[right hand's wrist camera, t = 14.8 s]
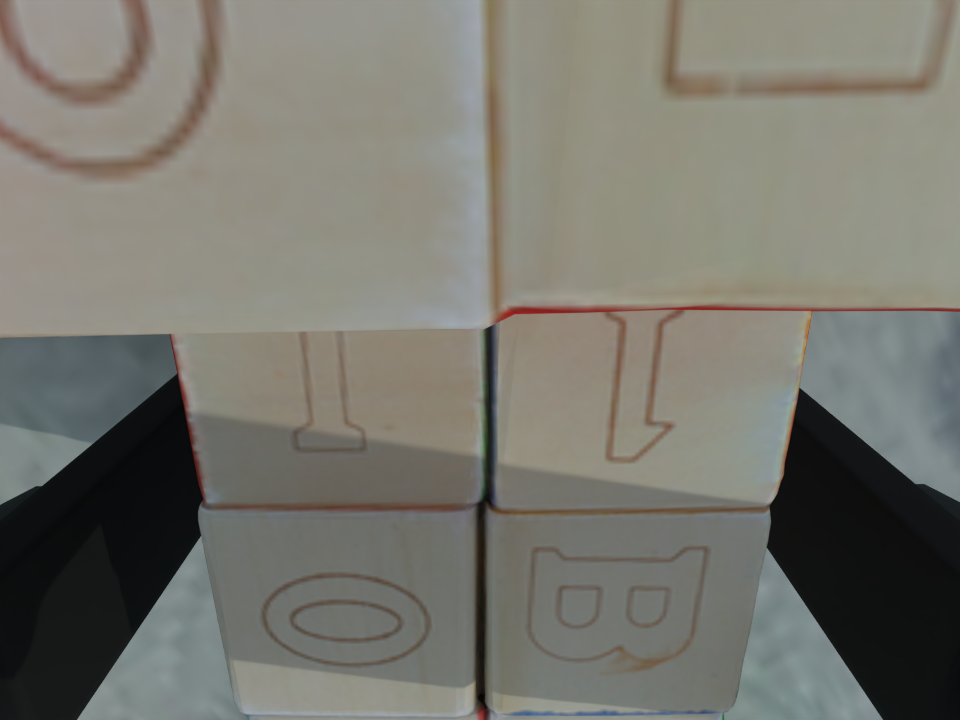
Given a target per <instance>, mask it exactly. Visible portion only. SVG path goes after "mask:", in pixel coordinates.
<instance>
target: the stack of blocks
mask: <svg viewBox="0 0 960 720" xmlns="http://www.w3.org/2000/svg"><path fill="white" fill-rule="evenodd" d="M812 311H956V312H960V0H0V338H12V337H57V336H102V335H147V334H170V338H171V343H172V348H173V353H174V359H175V364H176V369H177V374H178V379H179V384H180V389H181V394H182V399H183V404H184V409H185V414H186V420H187V425H188V430H189V435H190V441H191V446H192V451H193V457H194V462H195V467H196V472H197V477H198V482H199V486H200V490H201V493H202V496H203V501H202V503H201V504H200V506H199V510H198V522H199V527H200V532H201V537H202V542H203V547H204V552H205V557H206V562H207V567H208V573H209V578H210V583H211V588H212V593H213V598H214V603H215V608H216V613H217V618H218V623H219V628H220V633H221V638H222V643H223V648H224V653H225V658H226V663H227V668H228V673H229V677H230V682H231V687H232V692H233V697H234V702H235V705H236V707H237V708H238V710H239V711H240V712H242V713H243V714H244V715H246V716H247V717H248V720H724V712H727V711H729V710H730V709H731V708H732V707H733V705H734V703H735V701H736V698H737V694H738V689H739V683H740V677H741V671H742V665H743V661H744V656H745V652H746V647H747V643H748V638H749V634H750V629H751V624H752V618H753V613H754V607H755V602H756V596H757V591H758V585H759V580H760V574H761V569H762V565H763V561H764V556H765V552H766V548H767V543H768V537H769V531H770V525H771V517H770V507H769V506H770V504H771V503H772V501H773V499H774V498H775V496H776V495H777V492H778V489H779V486H780V482H781V480H782V478H783V475H784V465H785V459H786V454H787V450H788V445H789V440H790V435H791V430H792V425H793V420H794V414H795V409H796V404H797V399H798V393H799V386H800V380H801V374H802V367H803V361H804V355H805V350H806V344H807V339H808V333H809V327H810V322H811V316H812Z"/></svg>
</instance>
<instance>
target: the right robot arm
mask: <svg viewBox="0 0 960 720" xmlns="http://www.w3.org/2000/svg"><path fill="white" fill-rule="evenodd" d="M202 501H203V496H202V493H201V490H200V486H199V482H198V477H197V472H196V467H195V462H194V457H193V451H192V446H191V441H190V435H189V430H188V425H187V420H186V414H185V409H184V404H183V399H182V394H181V389H180V384H179V379H178V374H176V375H175V376H174V377H173V378H172V379H170V380H169V381H168V382H167V383H166V384H164V385H163V386H162V387H161V388H160V389H158V390H157V391H156V392H155V393H154V394H152V395H151V396H150V397H149V398H148V399H146V400H145V401H144V402H143V403H142V404H140V405H139V406H138V407H137V408H136V409H134V410H133V411H132V412H131V413H130V414H128V415H127V416H126V417H125V418H124V419H122V420H121V421H120V422H119V423H118V424H116V425H115V426H114V427H113V428H111V429H110V430H109V431H108V432H107V433H105V434H104V435H103V436H102V437H101V438H99V439H98V440H97V441H96V442H95V443H93V444H92V445H91V446H90V447H89V448H87V449H86V450H85V451H84V452H83V453H81V454H80V455H79V456H78V457H77V458H75V459H74V460H73V461H72V462H71V463H69V464H68V465H67V466H66V467H65V468H63V469H62V470H61V471H60V472H59V473H57V474H56V475H55V476H54V477H53V478H51V479H50V480H49V481H48V482H47V483H45V484H44V485H43V486H36V487H34V488H32V489H30V490H28V491H26V492H24V493H22V494H20V495H18V496H17V497H15V498H13V499H11V500H9V501H7V502H5V503H3V504H1V505H0V720H77V719H78V717H79V716H80V714H81V713H82V711H83V710H84V708H85V707H86V705H87V704H88V702H89V701H90V699H91V698H92V697H93V695H94V694H95V692H96V691H97V689H98V688H99V686H100V685H101V683H102V682H103V680H104V679H105V677H106V676H107V674H108V673H109V671H110V670H111V668H112V667H113V665H114V664H115V662H116V661H117V659H118V658H119V656H120V655H121V654H122V652H123V651H124V649H125V648H126V646H127V645H128V643H129V642H130V640H131V639H132V637H133V636H134V634H135V633H136V631H137V630H138V628H139V627H140V625H141V624H142V622H143V621H144V619H145V618H146V616H147V615H148V614H149V612H150V611H151V609H152V608H153V606H154V605H155V603H156V602H157V600H158V599H159V597H160V596H161V594H162V593H163V591H164V590H165V588H166V587H167V585H168V584H169V582H170V581H171V579H172V578H173V576H174V575H175V573H176V572H177V571H178V569H179V568H180V566H181V565H182V563H183V562H184V560H185V559H186V557H187V556H188V554H189V553H190V551H191V550H192V548H193V547H194V545H195V544H196V542H197V541H198V539H199V538H200V536H201V532H200V527H199V522H198V510H199V506H200V504H201V503H202ZM769 507H770V517H771V525H770V531H769V537H768V543H767V548H768V550H769V551H770V553H771V554H772V556H773V557H774V559H775V560H776V562H777V563H778V565H779V566H780V568H781V569H782V571H783V572H784V573H785V575H786V576H787V578H788V579H789V581H790V582H791V584H792V585H793V587H794V588H795V590H796V591H797V593H798V594H799V596H800V597H801V599H802V600H803V602H804V603H805V605H806V606H807V608H808V609H809V611H810V612H811V613H812V615H813V616H814V618H815V619H816V621H817V622H818V624H819V625H820V627H821V628H822V630H823V631H824V633H825V634H826V636H827V637H828V639H829V640H830V642H831V643H832V645H833V646H834V648H835V649H836V651H837V652H838V654H839V655H840V656H841V658H842V659H843V661H844V662H845V664H846V665H847V667H848V668H849V670H850V671H851V673H852V674H853V676H854V677H855V679H856V680H857V682H858V683H859V685H860V686H861V688H862V689H863V691H864V692H865V694H866V695H867V696H868V698H869V699H870V701H871V702H872V704H873V705H874V707H875V708H876V710H877V711H878V713H879V714H880V716H881V717H882V719H883V720H960V502H958V501H956V500H954V499H952V498H950V497H948V496H947V495H945V494H943V493H941V492H939V491H937V490H935V489H933V488H931V487H929V486H927V485H925V484H915V483H913V482H912V481H911V480H910V479H909V478H907V477H906V476H905V475H904V474H903V473H901V472H900V471H899V470H898V469H897V468H895V467H894V466H893V465H892V464H891V463H889V462H888V461H887V460H886V459H885V458H883V457H882V456H881V455H880V454H879V453H877V452H876V451H875V450H874V449H873V448H871V447H870V446H869V445H868V444H867V443H865V442H864V441H863V440H862V439H861V438H859V437H858V436H857V435H856V434H855V433H853V432H852V431H851V430H850V429H849V428H847V427H846V426H845V425H844V424H843V423H841V422H840V421H839V420H838V419H836V418H835V417H834V416H833V415H832V414H830V413H829V412H828V411H827V410H826V409H824V408H823V407H822V406H821V405H820V404H818V403H817V402H816V401H815V400H814V399H812V398H811V397H810V396H809V395H808V394H806V393H805V392H804V391H803V390H802V389H800V388H799V393H798V399H797V404H796V409H795V414H794V420H793V425H792V430H791V435H790V440H789V445H788V450H787V454H786V459H785V465H784V475H783V478H782V480H781V482H780V486H779V489H778V492H777V495H776V496H775V498H774V499H773V501H772V503H771V504H770V506H769Z"/></svg>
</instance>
